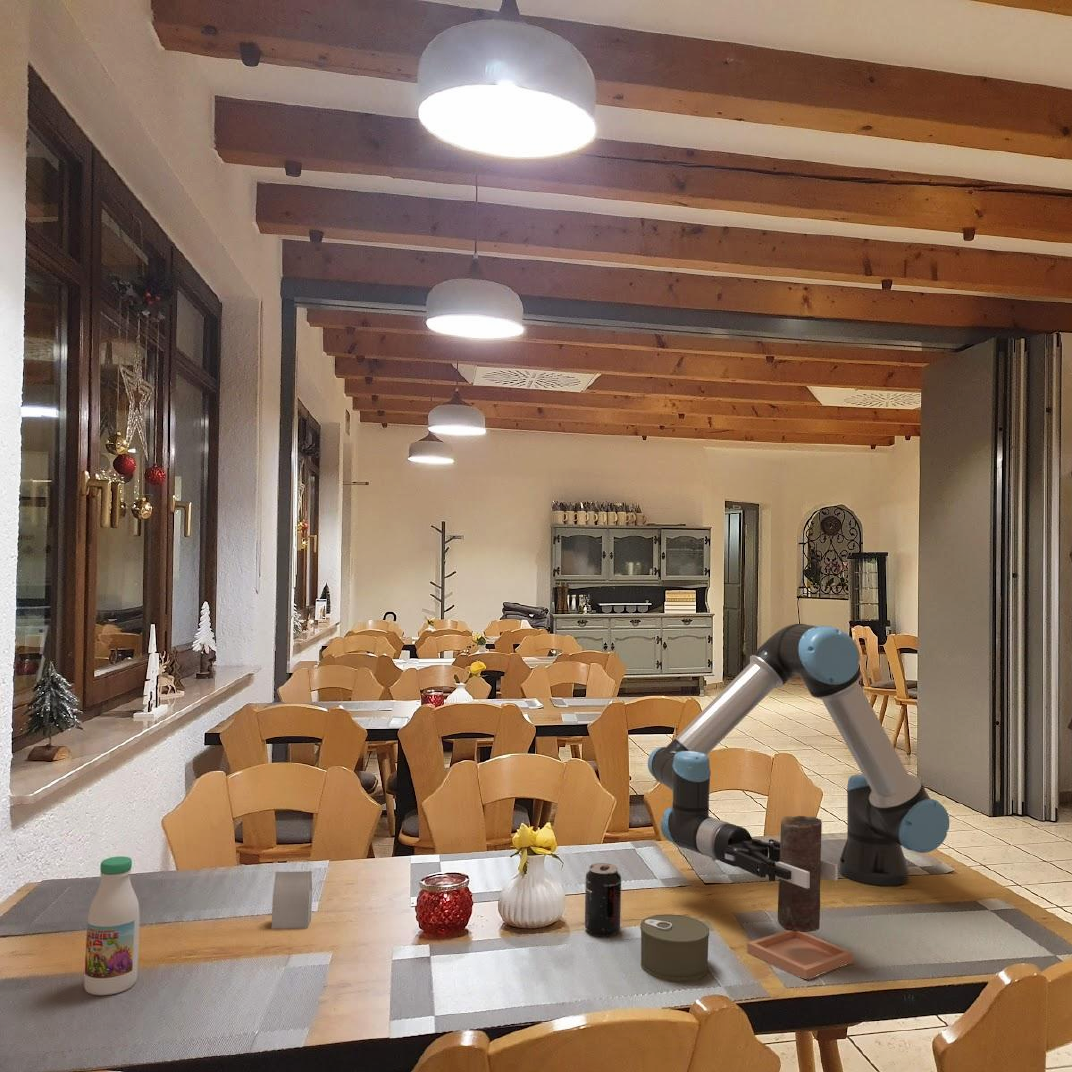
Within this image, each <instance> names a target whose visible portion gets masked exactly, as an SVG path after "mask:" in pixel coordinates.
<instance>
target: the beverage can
mask: <svg viewBox="0 0 1072 1072" xmlns="http://www.w3.org/2000/svg"><path fill="white" fill-rule="evenodd" d="M588 869H589V870H588V871H587V872H586V874H585V886H584V887H585V890H584V891H585V894H584V898H585V899H584V927H585V929H586V930H587V931H588V932H590V934H592V935H594V936H597V937H610V936H613V935H615V934H616V933H618V932H619V931H620V930H621V915H622V914H621V912H622V911H621V908H622V907H621V906H622V905H621V904H622V875H621V873H619V867H618V866H617V865H615V864H612V863H606V862H605V863H604V862H599V863H598V862H597V863H593V864H590V865H589V867H588Z"/></svg>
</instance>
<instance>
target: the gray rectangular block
mask: <svg viewBox="0 0 1072 1072" xmlns="http://www.w3.org/2000/svg"><path fill="white" fill-rule="evenodd" d="M312 877H313V876H312V871H311V870H293V871H292V870H290V871H287V870H286V871H284V870H283V871H282V870H281V871H279V870H276V871H275V873H274V881H273V882H274V884H273V890H272V891H273V892H272V903H271V906H272V908H271V929H272V930H274V929H276V930H278V929H282V930H283V929H309V927H310V924H311V922H312V908H313V907H312V903H313V901H312V900H313V882H312V881H313V880H312Z"/></svg>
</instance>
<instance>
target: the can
mask: <svg viewBox="0 0 1072 1072" xmlns="http://www.w3.org/2000/svg"><path fill="white" fill-rule="evenodd" d="M639 929H640V966H641V968H642V970H643V972H645V973H646V974H648V975H650V976H652V977H653V978H656V979H659V980H662V981H667V982H674V983H685V982H688V983H689V982H694V981H697V980H700V979H702V978H704V977H705V976H706V975H707V973H708V971H709V967H708V962H709V960H708V959H709V936H710V928H709V926H707V924H705V923H704V922H703V921H700V920H699V919H697V918H694V917H691V916H686V915H680V914H671V913H670V914H669V913H668V914H667V913H666V914H656V915H655V914H654V915H651V916H648V917H645V918H644V919H643V920H641V922H640V925H639Z"/></svg>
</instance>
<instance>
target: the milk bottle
mask: <svg viewBox="0 0 1072 1072" xmlns="http://www.w3.org/2000/svg"><path fill="white" fill-rule="evenodd" d="M132 864H133V861H132V858H131V857H129V856H119V855H118V856H113V857H108V858H104V859H103V860H102V861H101V863H100V866H99V867H100V868H99V869H100V874H99V875H100V877H101V881H100V884H99V887H98V890H97V892H96V894H95V896H94V898H93V900H92V902H91V904H90V906H89V907H90V908H89V911H88V916H87V924H86V925H87V926H86V938H85V939H86V941H85V958H84V959H85V960H84V976H83V977H84V979H83V981H84V986H83V987H84V989H85V992H87V993H88V994H90V995H94V996H107V995H108V996H109V995H114V994H115V995H116V994H119V993H121V992H124V991H126V990H129V989H130V988H132V987H133V986H134V985H135V983H136V981H137V979H138V966H139V963H138V962H139V939H140V904H139V900H138V897H137V894H136V892H135V890H134V888H133V885H132V882H131V878H130V874H131V873H132V867H133V865H132Z"/></svg>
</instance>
